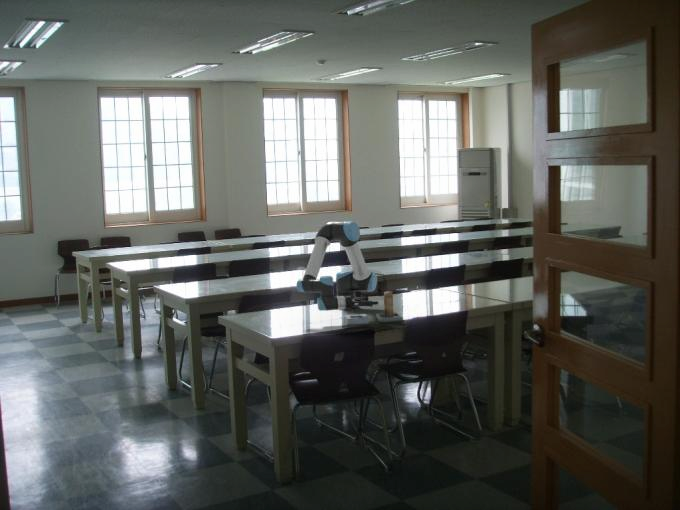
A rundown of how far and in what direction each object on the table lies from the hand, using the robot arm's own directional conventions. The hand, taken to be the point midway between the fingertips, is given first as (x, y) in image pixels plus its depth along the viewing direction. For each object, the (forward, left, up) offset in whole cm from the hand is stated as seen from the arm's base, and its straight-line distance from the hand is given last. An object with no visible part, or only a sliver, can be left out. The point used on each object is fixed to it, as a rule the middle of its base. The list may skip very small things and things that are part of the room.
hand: (381, 300), depth 429 cm
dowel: (0, +4, -11) cm, 11 cm away
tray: (0, +4, -12) cm, 12 cm away
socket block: (0, -15, -12) cm, 19 cm away
